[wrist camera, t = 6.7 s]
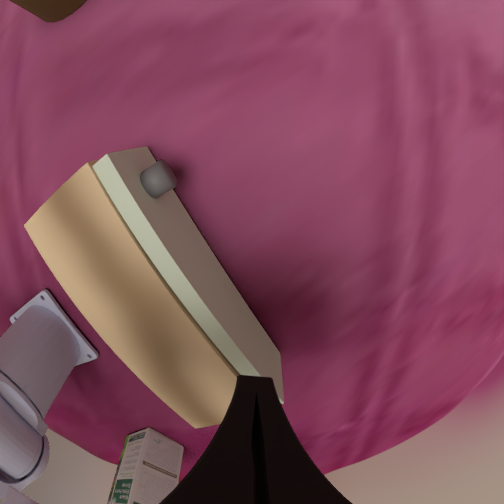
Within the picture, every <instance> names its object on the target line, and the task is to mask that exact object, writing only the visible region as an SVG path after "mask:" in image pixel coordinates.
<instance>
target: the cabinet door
mask: <svg viewBox="0 0 504 504" xmlns="http://www.w3.org/2000/svg"><path fill="white" fill-rule="evenodd" d="M92 167H93V169H94V171H95V173H96V174H97V176H98V178H99V179H100V181H101V183H102V185H103V186H104V188H105V190H106V191H107V193H108V195H109V196H110V198H111V200H112V201H113V203H114V204H115V206H116V208H117V209H118V211H119V212H120V214H121V216H122V217H123V219H124V220H125V222H126V223H127V225H128V227H129V228H130V230H131V231H132V233H133V234H134V236H135V237H136V239H137V240H138V242H139V243H140V245H141V246H142V248H143V249H144V251H145V252H146V254H147V255H148V256H149V258H150V259H151V261H152V262H153V264H154V265H155V266H156V268H157V269H158V271H159V272H160V274H161V275H162V276H163V278H164V279H165V280H166V282H167V283H168V285H169V286H170V287H171V289H172V290H173V291H174V293H175V294H176V295H177V297H178V298H179V299H180V301H181V302H182V303H183V305H184V306H185V307H186V309H187V310H188V311H189V313H190V314H191V315H192V316H193V318H194V319H195V320H196V322H197V323H198V324H199V325H200V327H201V328H202V329H203V330H204V332H205V333H206V334H207V335H208V337H209V338H210V339H211V340H212V342H213V343H214V344H215V345H216V346H217V348H218V349H219V350H220V351H221V352H222V354H223V355H224V356H225V357H226V358H227V360H228V361H229V362H230V363H231V364H232V365H233V367H234V368H235V369H236V370H237V371H238V372H239V373H240V375H249V376H260V377H271V378H272V379H273V382H274V385H275V389H276V392H277V395H278V397H279V400H280V403H281V404H283V403H284V396H283V382H282V369H281V356H280V352H279V351H278V349H277V348H276V346H275V345H274V343H273V342H272V341H271V339H270V338H269V336H268V335H267V333H266V332H265V330H264V329H263V327H262V326H261V324H260V323H259V322H258V320H257V319H256V317H255V316H254V314H253V313H252V311H251V310H250V308H249V307H248V305H247V304H246V302H245V301H244V299H243V298H242V296H241V295H240V293H239V292H238V290H237V289H236V287H235V286H234V284H233V283H232V281H231V280H230V278H229V277H228V275H227V274H226V272H225V271H224V269H223V268H222V266H221V264H220V263H219V261H218V260H217V258H216V257H215V255H214V254H213V252H212V251H211V249H210V247H209V246H208V244H207V243H206V241H205V240H204V238H203V236H202V235H201V233H200V232H199V230H198V229H197V227H196V225H195V224H194V222H193V221H192V219H191V217H190V216H189V214H188V213H187V211H186V209H185V208H184V206H183V205H182V203H181V201H180V200H179V198H178V197H177V195H176V193H175V192H174V190H173V188H174V187H176V186H177V179H176V177H175V174H174V172H173V171H172V169H171V168H170V166H169V165H168V164H167V163H166V162H165V161H163V160H159V161H157V162H156V160H155V159H154V157H153V155H152V154H151V152H150V150H149V149H148V147H147V146H145V147H139V148H133V149H128V150H123V151H118V152H113V153H108V154H106V155H105V156H104V157H102V158H101V159H100V160H99V161H98V162H97V163H95V164H94V165H93V166H92Z"/></svg>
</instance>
